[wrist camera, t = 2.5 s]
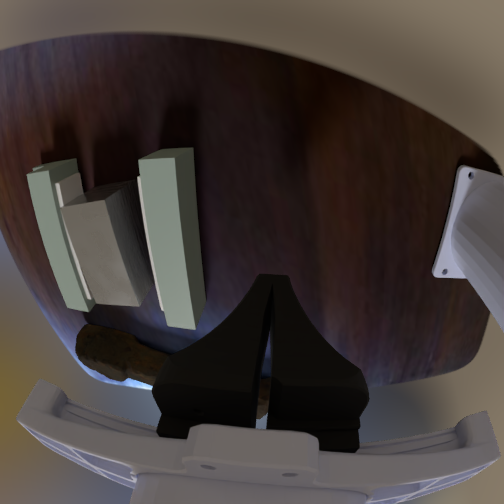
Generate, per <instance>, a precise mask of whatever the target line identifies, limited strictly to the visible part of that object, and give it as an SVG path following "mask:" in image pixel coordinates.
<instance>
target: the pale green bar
mask: <svg viewBox="0 0 504 504" xmlns="http://www.w3.org/2000/svg"><path fill="white" fill-rule="evenodd" d="M27 178H28V183H29V188H30V193H31V197H32V202H33V206H34V210H35V214H36V218H37V222H38V225H39V229H40V232H41V236H42V239H43V242H44V246H45V249H46V252H47V255H48V258H49V261H50V264H51V267H52V269H53V272H54V275H55V278H56V280H57V283H58V285H59V288H60V291H61V293H62V295H63V298H64V300H65V303H66V305H67V307H68V308H72V309H76V310H81V311H85V312H90V311H91V309H92V308H93V307H94V305H95V304H96V301H95V299H94V297H93V295H92V293H91V290H90V288H89V286H88V283H87V281H86V279H85V276H84V274H83V271H82V269H81V266H80V264H79V261H78V259H77V256H76V253H75V251H74V248H73V245H72V242H71V240H70V237H69V234H68V231H67V228H66V225H65V222H64V219H63V215H62V212H61V209H60V208H61V207H62V206H64V205H65V204H67V203H68V202H70V201H72V200H73V199H75V198H76V197H78V196H80V195H81V194H83V189H82V183H81V177H80V173H78V167H77V160H76V159H69V160H63V161H57V162H52V163H47V164H41V165H39V166H37V167H34V168H33V172H31V173H29V174H27Z"/></svg>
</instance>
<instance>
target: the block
mask: <svg viewBox="0 0 504 504" xmlns="http://www.w3.org/2000/svg"><path fill="white" fill-rule="evenodd" d="M60 209H61V212H62V215H63V219H64V222H65V225H66V228H67V231H68V234H69V237H70V240H71V242H72V245H73V248H74V251H75V253H76V256H77V259H78V261H79V264H80V266H81V269H82V271H83V274H84V276H85V279H86V281H87V283H88V286H89V288H90V290H91V293H92V295H93V297H94V299H95V301H96V304H108V305H123V306H140V305H141V303H142V302H143V300H144V298H145V297H146V295H147V294H148V292H149V290H150V289H151V287H152V286H153V284H154V283H155V280H154V275H153V270H152V265H151V260H150V255H149V250H148V244H147V239H146V233H145V227H144V221H143V215H142V208H141V201H140V194H139V188H138V183H137V179H135V180H129V181H123V182H117V183H112V184H106V185H101V186H96V187H93V188H92V189H90V190H88V191H86V192H85V193H83V194H81V195H80V196H78V197H76V198H75V199H73V200H72V201H70V202H68V203H67V204H65V205H64V206H62V207H61V208H60Z"/></svg>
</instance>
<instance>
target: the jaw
mask: <svg viewBox="0 0 504 504" xmlns="http://www.w3.org/2000/svg"><path fill="white" fill-rule="evenodd" d="M138 161H139V171H140V176H138V177H137V179H138V187H139V194H140V201H141V208H142V215H143V221H144V227H145V233H146V239H147V244H148V250H149V255H150V260H151V265H152V270H153V275H154V280H155V284H156V289H157V293H158V298H159V302H160V306H161V310H162V311H164V313H165V317H166V321H167V325H168V326H171V327H178V328H186V329H194V330H196V328H197V325H198V322H199V320H200V317H201V314H202V312H203V309H204V306H205V304H206V295H205V287H204V277H203V268H202V258H201V248H200V237H199V225H198V213H197V200H196V186H195V170H194V151H193V148H172V149H161V150H158V151H156V152H154V153H152V154H150V155H148V156H145V157H143V158H141V159H139V160H138Z"/></svg>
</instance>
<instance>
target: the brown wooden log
mask: <svg viewBox="0 0 504 504" xmlns="http://www.w3.org/2000/svg"><path fill="white" fill-rule="evenodd" d="M75 351H76V354H77V356H78V359H79V360H80V361H81V362H82V363H83V364H84V365H85V366H87V367H88V368H90V369H92V370H96V371H97V372H99V373H100V374H103V375H105V376H106V377H108V378H109V379H113V380H116V381H120V382H122V381H124V380H126V379H127V378H131V379H133V380H137V381H140V382H143V383H146V384H148V385H152V386H153V385H154V382H155V380H156V377H157V375H158V372H159V370H160V369H161V367H162V365H163V364H164V362H165V360H166V359H167V357H168V356H170V354H167V353H164V352H161V351H158V350H155V349H152V348H150V347H148V346H145V345H142V344H140V343H139V341H138V339H137V338H136V337H135V336H134V335H132V334H129V333H126V332H123V331H119V330H116V329H112V328H108V327H103V326H98V325H91V324H86V325H84V326H83V328H82V329H81V330H80V332H79V333H78V335H77V338H76V347H75ZM270 382H271V377H268V378H266V379H261V380H260V390H259V399H258V409H257V418H256V419H261V418H262V417H263V416H264V415H266V414H267V413H268V405H269V394H270Z"/></svg>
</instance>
